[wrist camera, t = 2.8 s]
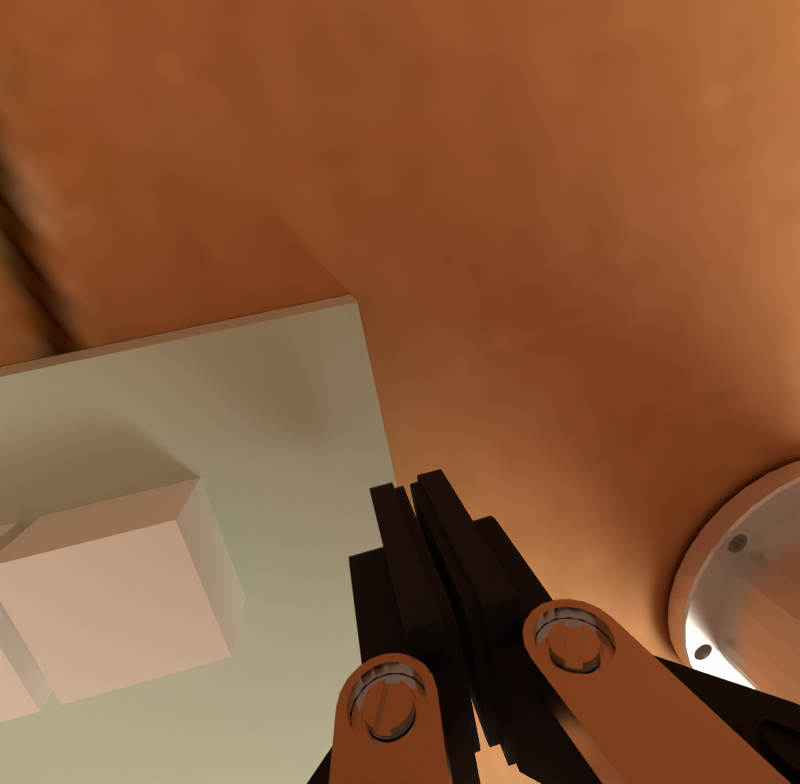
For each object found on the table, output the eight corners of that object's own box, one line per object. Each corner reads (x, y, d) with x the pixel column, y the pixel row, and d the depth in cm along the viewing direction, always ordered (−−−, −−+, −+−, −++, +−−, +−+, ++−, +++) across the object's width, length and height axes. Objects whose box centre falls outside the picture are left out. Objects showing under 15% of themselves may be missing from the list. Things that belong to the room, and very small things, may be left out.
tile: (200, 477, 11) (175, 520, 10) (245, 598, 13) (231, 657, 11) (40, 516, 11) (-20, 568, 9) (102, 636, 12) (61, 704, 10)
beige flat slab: (350, 294, 14) (357, 302, 11) (433, 670, 19) (453, 744, 16) (-137, 395, 12) (-276, 434, 9) (91, 774, 17) (45, 875, 14)
